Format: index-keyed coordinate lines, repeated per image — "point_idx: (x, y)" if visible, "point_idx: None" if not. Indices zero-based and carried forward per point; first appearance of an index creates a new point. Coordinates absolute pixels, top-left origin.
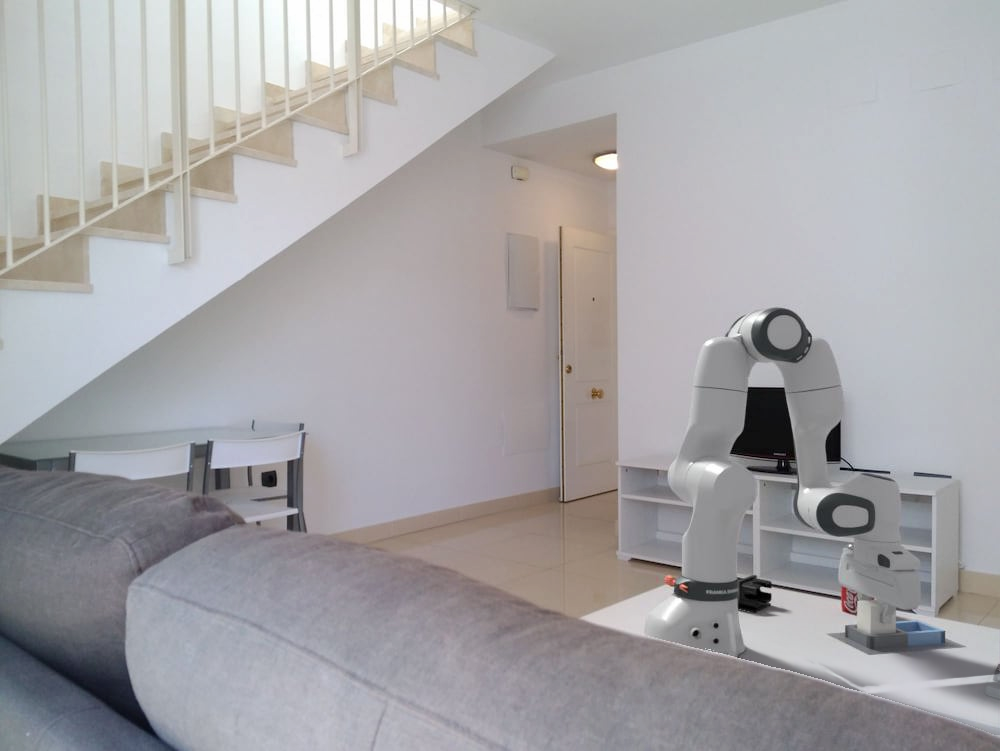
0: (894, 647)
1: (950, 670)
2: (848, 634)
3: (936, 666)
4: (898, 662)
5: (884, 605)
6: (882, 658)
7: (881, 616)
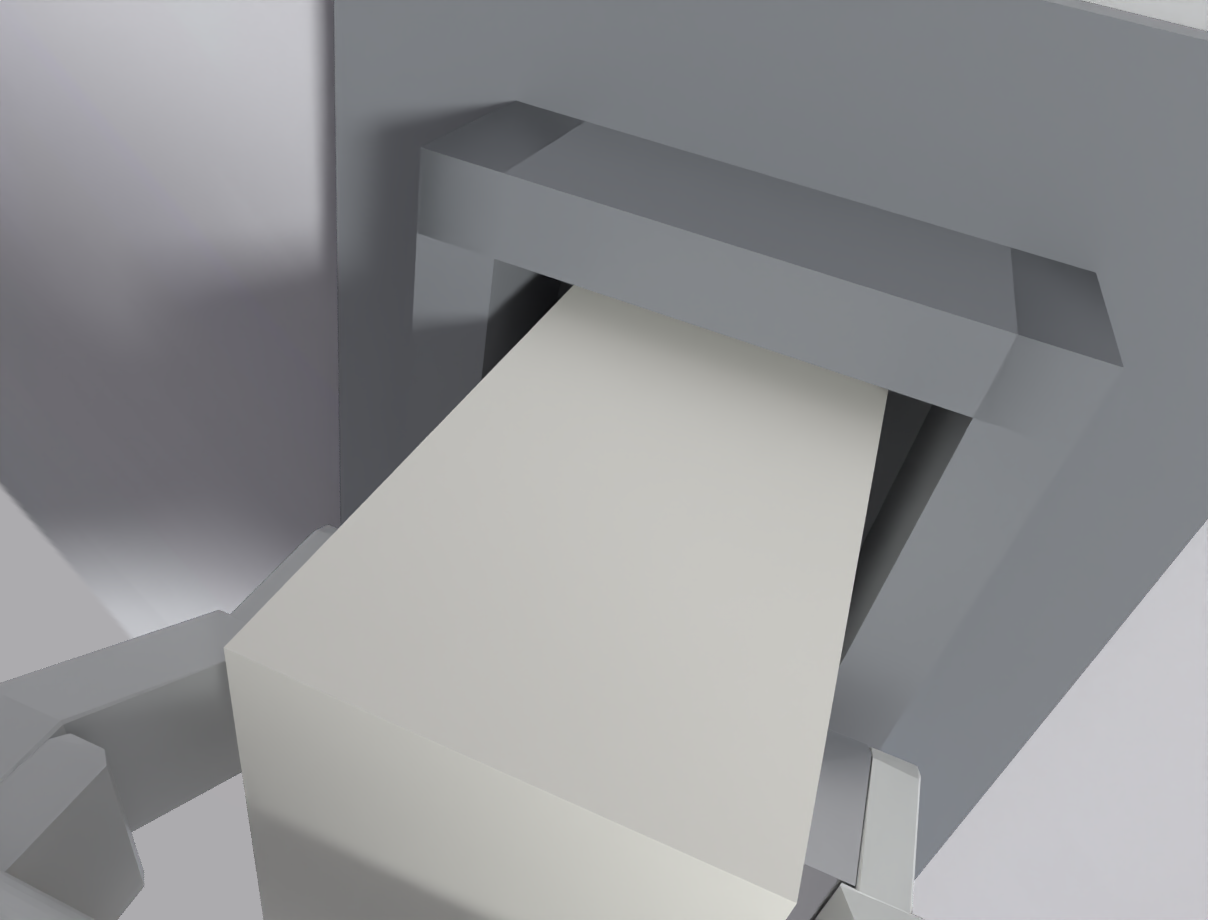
0: None
1: (56, 371)
2: (1006, 270)
3: (135, 367)
4: (249, 146)
5: (36, 773)
6: None
7: None
